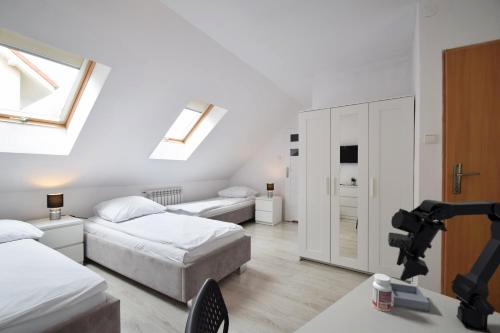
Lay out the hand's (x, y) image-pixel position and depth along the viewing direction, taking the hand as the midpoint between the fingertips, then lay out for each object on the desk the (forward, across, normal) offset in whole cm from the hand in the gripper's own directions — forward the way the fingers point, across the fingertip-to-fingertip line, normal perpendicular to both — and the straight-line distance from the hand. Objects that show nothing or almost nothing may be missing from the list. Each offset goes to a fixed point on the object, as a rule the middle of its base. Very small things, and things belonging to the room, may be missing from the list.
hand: (399, 272), depth 85 cm
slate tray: (+14, -7, +9) cm, 18 cm away
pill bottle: (+16, +1, +1) cm, 16 cm away
